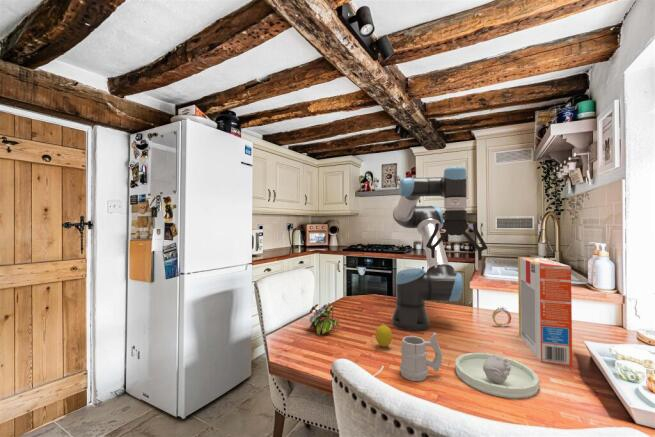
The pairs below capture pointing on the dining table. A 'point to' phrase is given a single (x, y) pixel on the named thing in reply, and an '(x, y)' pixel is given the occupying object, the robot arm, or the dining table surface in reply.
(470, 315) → the dining table surface
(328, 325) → the leafy green plant
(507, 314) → the ring
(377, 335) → the lemon
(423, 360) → the mug
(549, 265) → the cereal box
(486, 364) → the grey round lump
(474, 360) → the groove dish
